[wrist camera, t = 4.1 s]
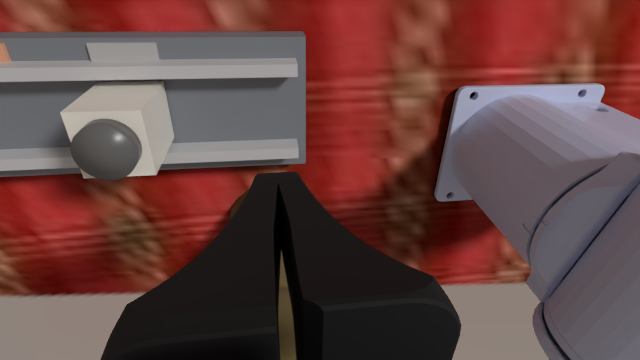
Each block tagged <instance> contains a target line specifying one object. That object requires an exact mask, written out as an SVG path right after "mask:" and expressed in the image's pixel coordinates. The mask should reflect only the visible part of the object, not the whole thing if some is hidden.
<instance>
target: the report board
mask: <svg viewBox="0 0 640 360" xmlns="http://www.w3.org/2000/svg"><path fill="white" fill-rule="evenodd" d="M134 81H163V82H164V87H165V92H166V97H167V102H168V107H169V112H170V117H171V122H172V127H173V132H174V139H173V141H172V143H171V145H170V148H169V150H168V152H167V154H166V156H165V158H164V160H163V162H162V164H161V166H160V168H159V170H168V169H191V168H213V167H236V166H258V165H281V164H303V163H306V37H305V35H304V33H303V31H265V32H0V177H11V176H33V175H56V174H78V173H81V170H80V168H79V166H78V165H77V164H76V163H75V161H74V160H73V157H72V155H71V150H70V145H71V142H70V139H69V136H68V133H67V131H66V128H65V125H64V122H63V120H62V117H61V114H60V112H61V111H62V110H64V109H65V108H66V107H67V106H69V105H70V104H71V103H73V102H74V101H75V100H76V99H78V98H79V97H80V96H81V95H83V94H84V93H85V92H86V91H88V90H89V89H90V88H91V87H93V86H94V85H95V84H97V83H98V82H134Z"/></svg>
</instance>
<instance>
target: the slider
mask: <svg viewBox="0 0 640 360" xmlns="http://www.w3.org/2000/svg"><path fill="white" fill-rule="evenodd" d="M60 114H61V117H62V120H63V122H64V125H65V128H66V131H67V133H68V136H69V139H70V142H71V145H70V150H71V155H72V157H73V160H74V161H75V163H76V164H77V165H78V166H79V168H80V170H81V173H82V175H83V178H98V179H102V180H118V179H122V178H124V177H126V176H148V175H157V173H158V170H159V168H160V166H161V164H162V162H163V160H164V158H165V156H166V154H167V152H168V150H169V148H170V145H171V143H172V141H173V139H174V132H173V127H172V122H171V117H170V112H169V107H168V102H167V97H166V92H165V87H164V82H163V81H134V82H98V83H97V84H95V85H94V86H93V87H91V88H90V89H89V90H88V91H86V92H85V93H84V94H83V95H81V96H80V97H79V98H78V99H76V100H75V101H74V102H73V103H71V104H70V105H69V106H67V107H66V108H65V109H64V110H62V111H61V112H60Z"/></svg>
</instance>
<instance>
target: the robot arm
mask: <svg viewBox="0 0 640 360" xmlns="http://www.w3.org/2000/svg"><path fill="white" fill-rule="evenodd" d="M581 90H582V92H581V93H580V94H579V95H578V93H579V92H580V91H581ZM604 90H605V89H604V86H603V85H600V84H597V83H590V84H542V85H493V86H463V87H461V88H459V89H458V90H457V92H456V94H455V98H454V103H453V108H452V112H451V117H450V122H449V126H448V131H447V136H446V141H445V145H444V150H443V155H442V159H441V164H440V169H439V174H438V178H437V183H436V188H435V192H434V196H435V198H436V199H437V200H438V201H441V202H443V201H460V200H474V201H475V202H476V204H477V205H478V206H479V207H480V208H481V209H482V211H483V212H484V213H485V214H486V215H487V217H488V218H489V219H490V220H491V221H492V222H493V224H494V225H495V226H496V227H497V228H498V230H499V231H500V232H501V233H502V234H503V235H504V237H505V238H506V239H507V240H508V241H509V243H510V244H511V245H512V246H513V247H514V248H515V250H516V251H517V252H518V253H519V254H520V256H521V257H522V258H523V259H524V260H525V261H526V263H527V264H528V265H529V266H530V267H531V273H530V276H529V278H528V279H527V281H526V284H527V285H528V286H529V288H530V289H531V290H532V291H533V293H534V294H535V295H536V296H537V297H538V299H539V300H540V301H541V302H540V303H539V304H538V306H537V307H536V308H535V311H534V314H533V327H534V331H535V334H536V336H537V339H538V341H539V343H540V345H541V347H542V349H543V350H544V352H545V353H546V355H547V357H548V358H549V360H640V120H639V119H637V118H634V117H632V116H630V115H628V114H625V113H623V112H621V111H619V110H616V109H614V108H612V107H610V106H607V105H605V104H603V103H601V102H600V101H601V98H602V96H603V94H604ZM473 92H475V95H474V96H473V97H472V98H470V95H471V93H473ZM450 192H451V194H450V195H447V194H448V193H450ZM281 251H282V257H283V263H284V268H285V274H286V279H287V285H288V290H289V296H290V301H291V307H292V315H293V324H294V337H295V349H296V360H452V357H453V354H454V351H455V348H456V345H457V342H458V339H459V336H460V330H461V323H460V320H459V316H458V314H457V312H456V310H455V308H454V307H453V305H452V303H451V301H450V300H449V298H448V296H447V295H446V294H445V292H444V290H443V289H442V288H441V286H440V285H439V284H438V282H437V281H436V279H435V278H434V276H431V275H429V274H426V273H424V272H422V271H419V270H417V269H414V268H412V267H410V266H407V265H405V264H402V263H400V262H398V261H396V260H394V259H393V258H391V257H389V256H387V255H385V254H383V253H381V252H379V251H378V250H376V249H374V248H373V247H371V246H370V245H368V244H366V243H365V242H363V241H362V240H360V239H359V238H357V237H356V236H355V235H353V234H352V233H351V232H349V231H348V230H347V229H346V228H344V227H343V226H342V225H341V224H340V223H339V222H338V221H337V220H336V219H334V218H333V217H332V215H331V214H330V213H329V212H328V211H327V210H326V209H325V208H324V207H323V206H322V205H321V204H320V203H319V201H318V200H317V199H316V198H315V197H314V195H313V194H312V193H311V192H310V190H309V189H308V188H307V186H306V185H305V183H304V182H303V180H302V179H301V177H300V175H299V174H298V173H297V172H281V173H261V174H257V175H256V176H255V178H254V181H253V183H252V185H251V188H250V190H249V191H248V193H247V195H246V197H245V199H244V200H243V202H242V204H241V205H240V207H239V208H238V210H237V211H236V213H235V214H234V216H233V217H232V218H231V220H230V221H229V222H228V224H227V225H226V226H225V228H224V229H223V230H222V231H221V232H220V234H219V235H218V236H217V237H216V238H215V239H214V240H213V241H212V242H211V243H210V245H209V246H207V247H206V248H205V249H204V250H203V251H202V252H201V253H200V254H199V255H198V256H197V257H196V258H195V259H194V260H193V261H191V262H190V263H189V264H188V265H186V266H185V267H184V268H183V269H181V270H180V271H179V272H177V273H176V274H175V275H173V276H172V277H170V278H169V279H168V280H166V281H165V282H163V283H162V284H160V285H159V286H157V287H155V288H154V289H152V290H150V291H149V292H147V293H146V294H144V295H142V296H141V297H139V298H137V299H136V300H134V301H132V302H131V303H129V304H127V305H126V307H125V309H124V311H123V312H122V314H121V316H120V318H119V320H118V322H117V323H116V325H115V327H114V329H113V331H112V333H111V335H110V337H109V339H108V342H107V345H106V347H105V350H104V352H103V355H102V357H101V360H280V343H279V323H278V305H279V284H280V263H281Z"/></svg>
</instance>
